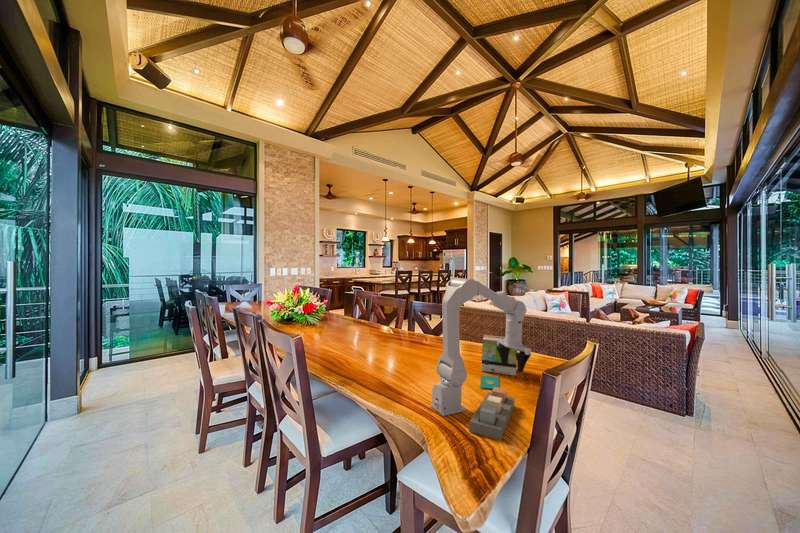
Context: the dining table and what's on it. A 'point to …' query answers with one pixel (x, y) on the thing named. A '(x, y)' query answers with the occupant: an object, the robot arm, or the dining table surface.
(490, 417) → the slate key
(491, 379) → the smartphone
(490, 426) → the key panel
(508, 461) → the dining table surface
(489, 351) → the tea box
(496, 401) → the white key
